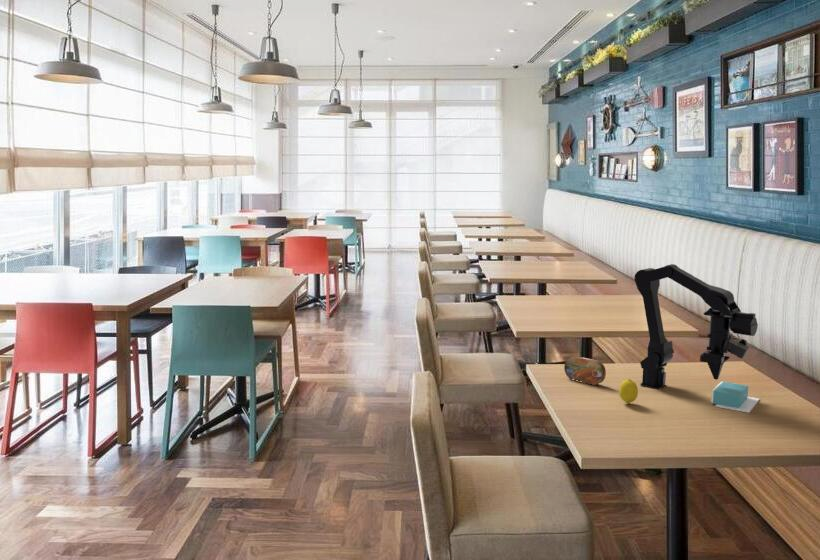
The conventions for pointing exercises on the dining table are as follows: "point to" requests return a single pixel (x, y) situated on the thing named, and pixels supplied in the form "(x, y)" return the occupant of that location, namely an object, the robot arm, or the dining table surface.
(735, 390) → the teal block
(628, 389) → the lemon
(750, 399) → the mat
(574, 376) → the tin
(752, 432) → the dining table surface
